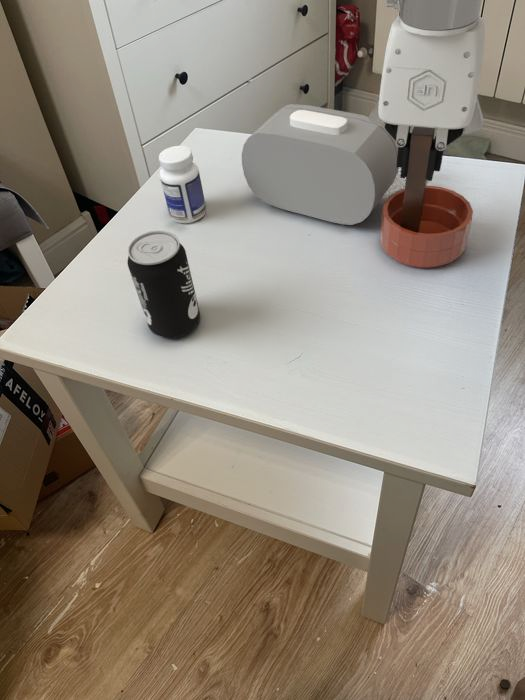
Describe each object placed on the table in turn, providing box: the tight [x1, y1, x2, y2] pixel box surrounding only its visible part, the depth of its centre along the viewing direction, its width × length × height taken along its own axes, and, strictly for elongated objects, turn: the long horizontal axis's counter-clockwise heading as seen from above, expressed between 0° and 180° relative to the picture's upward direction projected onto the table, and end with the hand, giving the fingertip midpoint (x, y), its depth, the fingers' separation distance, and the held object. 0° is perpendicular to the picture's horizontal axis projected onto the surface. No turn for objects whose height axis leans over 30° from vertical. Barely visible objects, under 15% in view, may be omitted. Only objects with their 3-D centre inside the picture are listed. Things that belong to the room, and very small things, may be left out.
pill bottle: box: [158, 145, 207, 224], centre depth 83 cm, size 6×6×10 cm
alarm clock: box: [241, 103, 400, 226], centre depth 80 cm, size 21×10×13 cm, turn 60°
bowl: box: [379, 185, 474, 269], centre depth 75 cm, size 11×11×6 cm
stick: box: [400, 126, 436, 233], centre depth 70 cm, size 2×2×14 cm
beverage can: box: [127, 230, 201, 339], centre depth 66 cm, size 7×7×12 cm
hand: (417, 172), depth 69 cm, fingers closed on stick, 2 cm apart
